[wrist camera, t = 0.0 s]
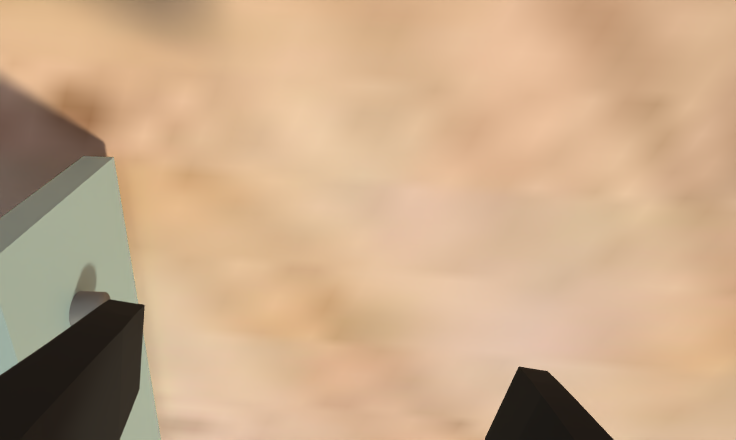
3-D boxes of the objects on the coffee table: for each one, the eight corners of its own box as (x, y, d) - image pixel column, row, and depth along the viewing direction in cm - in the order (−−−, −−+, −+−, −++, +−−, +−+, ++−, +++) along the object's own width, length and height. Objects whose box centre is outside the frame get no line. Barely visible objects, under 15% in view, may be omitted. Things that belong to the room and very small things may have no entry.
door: (187, 515, 26) (138, 688, 20) (139, 514, 26) (73, 688, 20) (134, 157, 18) (20, 264, 12) (62, 155, 18) (-93, 261, 12)
